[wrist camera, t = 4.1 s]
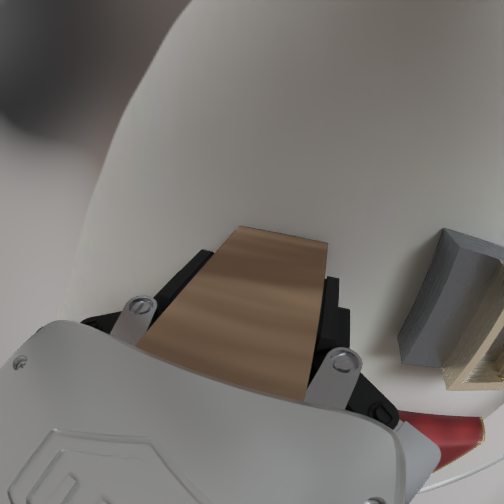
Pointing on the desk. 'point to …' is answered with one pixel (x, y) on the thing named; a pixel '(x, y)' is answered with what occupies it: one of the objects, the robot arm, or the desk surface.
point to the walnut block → (248, 313)
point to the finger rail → (460, 315)
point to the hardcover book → (448, 433)
